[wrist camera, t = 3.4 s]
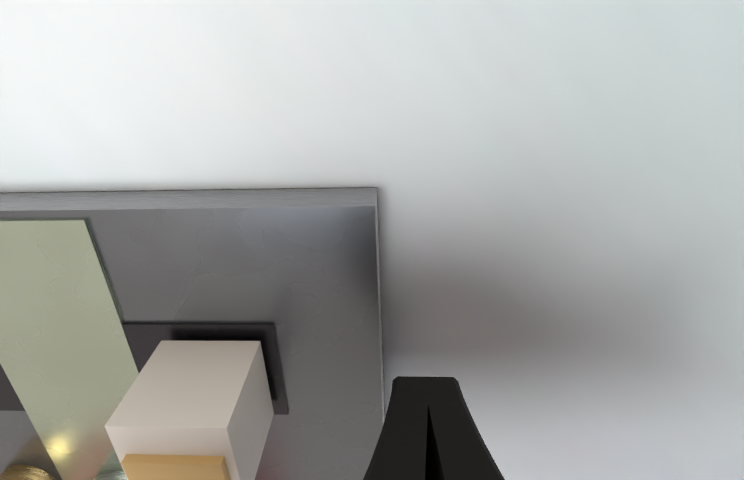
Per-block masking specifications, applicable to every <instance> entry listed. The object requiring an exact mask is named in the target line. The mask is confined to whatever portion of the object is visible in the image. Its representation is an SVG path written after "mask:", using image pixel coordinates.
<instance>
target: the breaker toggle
mask: <svg viewBox="0 0 744 480" xmlns="http://www.w3.org/2000/svg"><path fill="white" fill-rule="evenodd" d="M273 414H274V411H273V406H272V401H271V395H270V390H269V385H268V379H267V374H266V369H265V363H264V358H263V353H262V348H261V342H260V341H162V340H161V342H160V343H159V345H158V346H157V348H156V349H155V351H154V352H153V354H152V355H151V357H150V358H149V360H148V361H147V363H146V364H145V366H144V367H143V369H142V370H141V372H140V373H139V375H138V376H137V378H136V379H135V381H134V382H133V384H132V385H131V387H130V388H129V390H128V391H127V393H126V394H125V396H124V397H123V399H122V400H121V402H120V403H119V405H118V406H117V408H116V409H115V411H114V413H113V414H112V416H111V417H110V419H109V420H108V422H107V423H106V425H105V429H106V431H107V433H108V436H109V438H110V440H111V443H112V445H113V447H114V450H115V452H116V454H117V456H118V459H119V461H120V463H121V466H122V468H123V470H124V473H125V475H126V477H127V480H255V476H256V473H257V470H258V466H259V463H260V459H261V456H262V452H263V449H264V445H265V442H266V439H267V435H268V432H269V428H270V425H271V421H272V418H273Z"/></svg>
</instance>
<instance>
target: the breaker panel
mask: <svg viewBox="0 0 744 480" xmlns="http://www.w3.org/2000/svg"><path fill="white" fill-rule="evenodd" d="M161 340H162V341H260V342H261V348H262V353H263V358H264V363H265V369H266V374H267V379H268V385H269V390H270V395H271V401H272V406H273V411H274V414H273V418H272V421H271V425H270V428H269V432H268V435H267V439H266V442H265V445H264V449H263V452H262V456H261V459H260V463H259V466H258V470H257V473H256V476H255V480H363V478H364V476H365V474H366V471H367V469H368V467H369V464H370V462H371V459H372V456H373V453H374V451H375V448H376V445H377V442H378V439H379V437H380V434H381V431H382V428H383V424H384V421H385V413H384V383H383V353H382V323H381V293H380V263H379V233H378V203H377V188H321V189H253V190H184V191H116V192H48V193H0V480H127V477H126V475H125V473H124V470H123V468H122V466H121V463H120V461H119V459H118V456H117V454H116V452H115V450H114V447H113V445H112V443H111V440H110V438H109V436H108V433H107V431H106V429H105V425H106V423H107V422H108V420H109V419H110V417H111V416H112V414H113V413H114V411H115V409H116V408H117V406H118V405H119V403H120V402H121V400H122V399H123V397H124V396H125V394H126V393H127V391H128V390H129V388H130V387H131V385H132V384H133V382H134V381H135V379H136V378H137V376H138V375H139V373H140V372H141V370H142V369H143V367H144V366H145V364H146V363H147V361H148V360H149V358H150V357H151V355H152V354H153V352H154V351H155V349H156V348H157V346H158V345H159V343H160V342H161Z"/></svg>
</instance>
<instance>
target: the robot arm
mask: <svg viewBox="0 0 744 480" xmlns="http://www.w3.org/2000/svg"><path fill="white" fill-rule="evenodd" d="M363 480H505V479H504V478H503V476H502V474H501V472H500V471H499V469H498V467H497V465H496V463H495V462H494V460H493V458H492V456H491V454H490V452H489V450H488V449H487V447H486V445H485V443H484V441H483V439H482V437H481V435H480V433H479V431H478V429H477V427H476V425H475V423H474V421H473V418H472V416H471V414H470V412H469V409H468V407H467V405H466V402H465V400H464V397H463V395H462V392H461V389H460V386H459V383H458V381H457V380H456V379H455V378H454V377H397V378H395V379H394V380H393V384H392V392H391V398H390V402H389V407H388V411H387V414H386V418H385V421H384V424H383V428H382V431H381V434H380V437H379V439H378V442H377V445H376V448H375V451H374V453H373V456H372V459H371V462H370V464H369V467H368V469H367V471H366V474H365V476H364V478H363Z"/></svg>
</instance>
